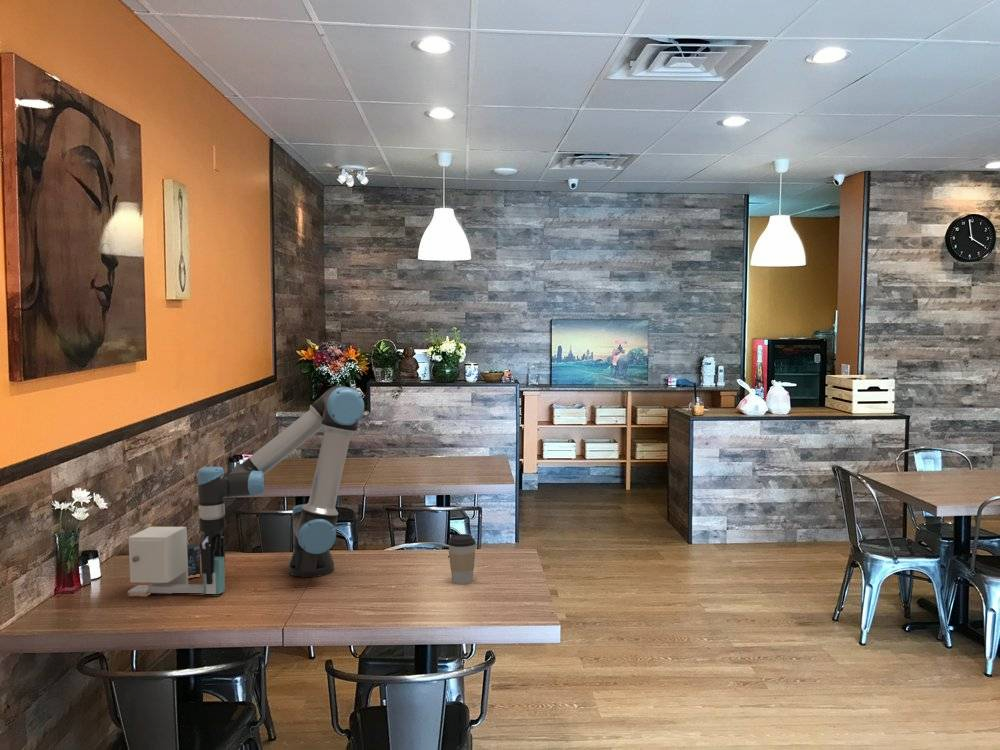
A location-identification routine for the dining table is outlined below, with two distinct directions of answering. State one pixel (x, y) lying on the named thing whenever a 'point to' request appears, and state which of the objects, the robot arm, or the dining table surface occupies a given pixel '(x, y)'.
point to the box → (193, 559)
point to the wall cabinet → (159, 555)
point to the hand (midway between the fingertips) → (214, 590)
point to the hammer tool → (188, 588)
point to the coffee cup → (462, 558)
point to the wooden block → (139, 589)
